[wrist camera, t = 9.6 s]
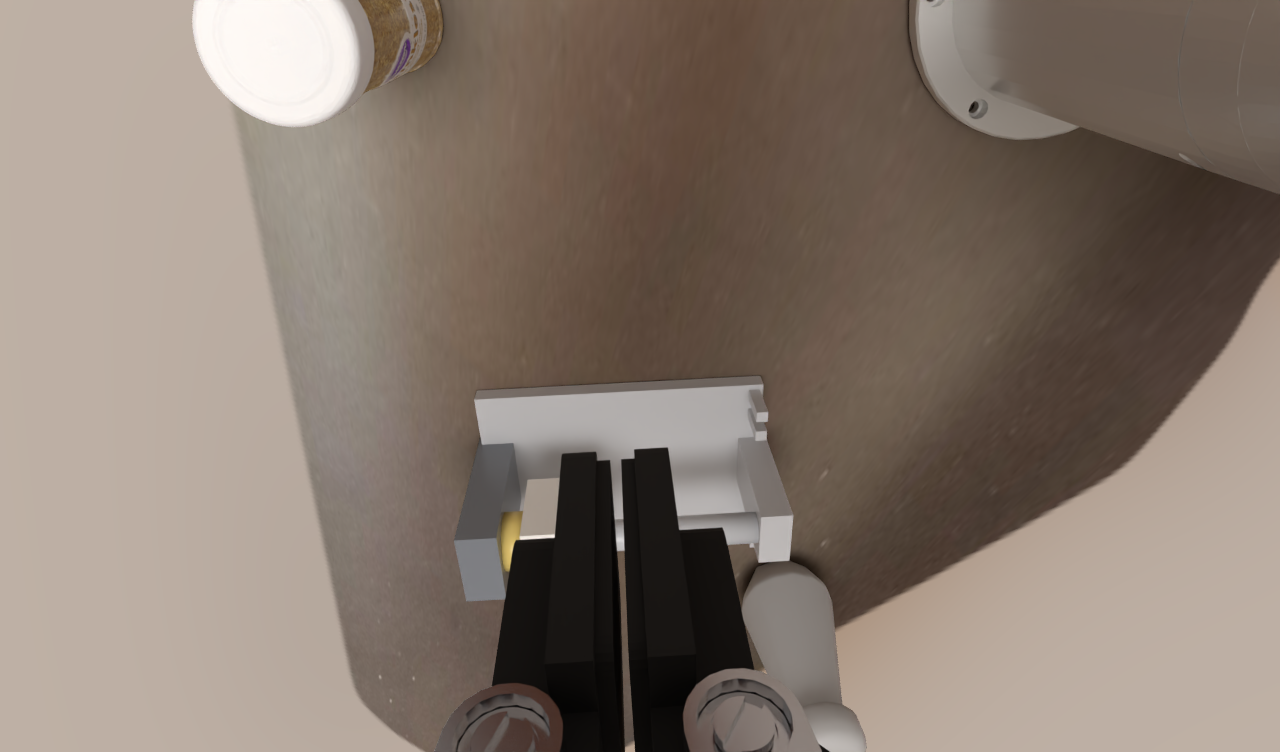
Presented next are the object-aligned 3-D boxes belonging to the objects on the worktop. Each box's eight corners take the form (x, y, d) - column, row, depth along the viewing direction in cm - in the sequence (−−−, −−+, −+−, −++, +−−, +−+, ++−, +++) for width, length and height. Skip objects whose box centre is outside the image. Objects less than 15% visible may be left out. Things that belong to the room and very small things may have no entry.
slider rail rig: (765, 375, 42) (803, 470, 34) (757, 513, 47) (789, 623, 39) (473, 390, 42) (443, 490, 34) (496, 527, 46) (474, 642, 39)
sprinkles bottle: (435, 85, 34) (347, 151, 22) (332, 53, 33) (183, 102, 21) (454, -23, 32) (368, -15, 20) (345, -61, 31) (187, -77, 19)
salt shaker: (766, 536, 48) (818, 715, 36) (838, 565, 49) (909, 745, 38) (720, 596, 50) (754, 781, 39) (790, 621, 52) (842, 806, 40)
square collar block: (603, 475, 39) (604, 612, 31) (608, 539, 41) (610, 683, 33) (527, 479, 39) (507, 618, 31) (536, 543, 41) (520, 688, 33)
